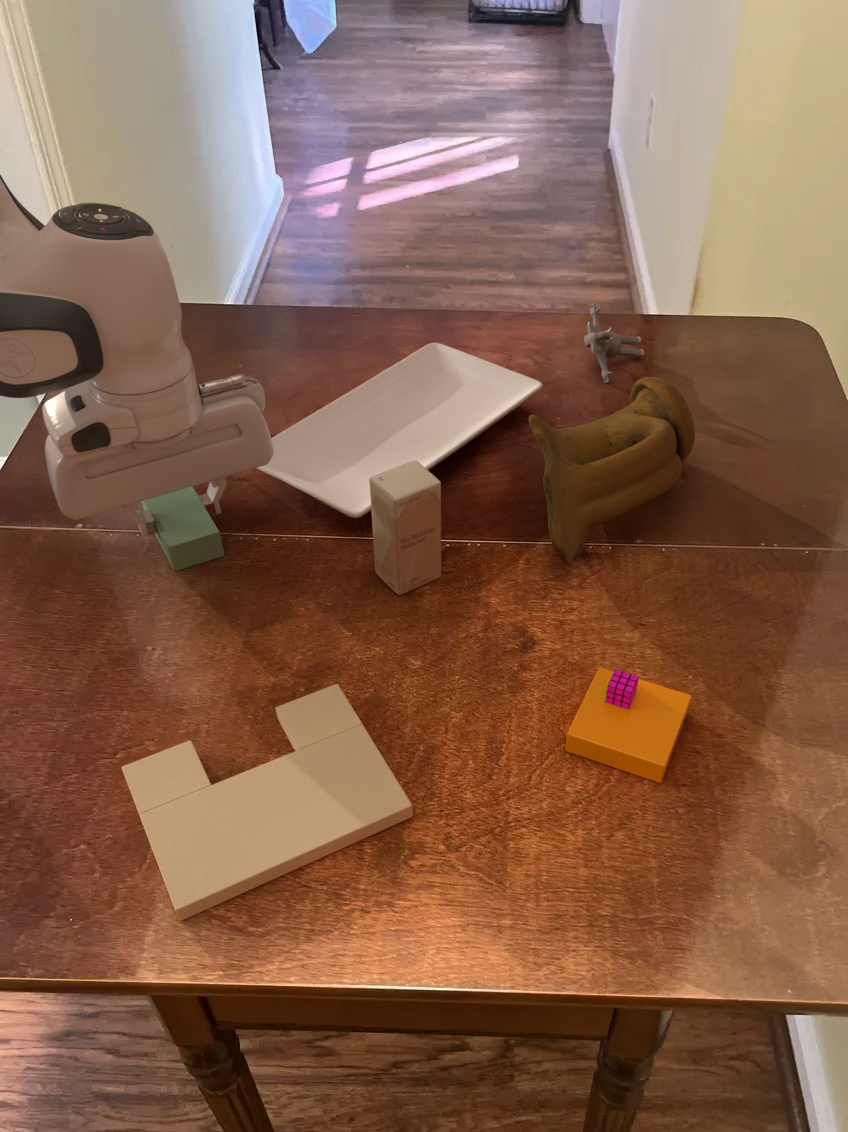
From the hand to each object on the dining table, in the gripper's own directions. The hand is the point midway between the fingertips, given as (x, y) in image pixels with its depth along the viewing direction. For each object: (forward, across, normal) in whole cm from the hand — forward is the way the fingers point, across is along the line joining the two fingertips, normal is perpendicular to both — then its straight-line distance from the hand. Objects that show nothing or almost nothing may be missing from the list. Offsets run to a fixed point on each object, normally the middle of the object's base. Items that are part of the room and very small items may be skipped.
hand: (180, 522), depth 96 cm
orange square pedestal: (+2, -24, +42) cm, 48 cm away
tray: (+2, -26, -4) cm, 26 cm away
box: (+2, -17, +16) cm, 23 cm away
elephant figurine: (+2, -56, -8) cm, 57 cm away
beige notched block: (+2, +4, +34) cm, 34 cm away
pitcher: (+2, -39, +16) cm, 42 cm away
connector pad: (+2, 0, 0) cm, 2 cm away
